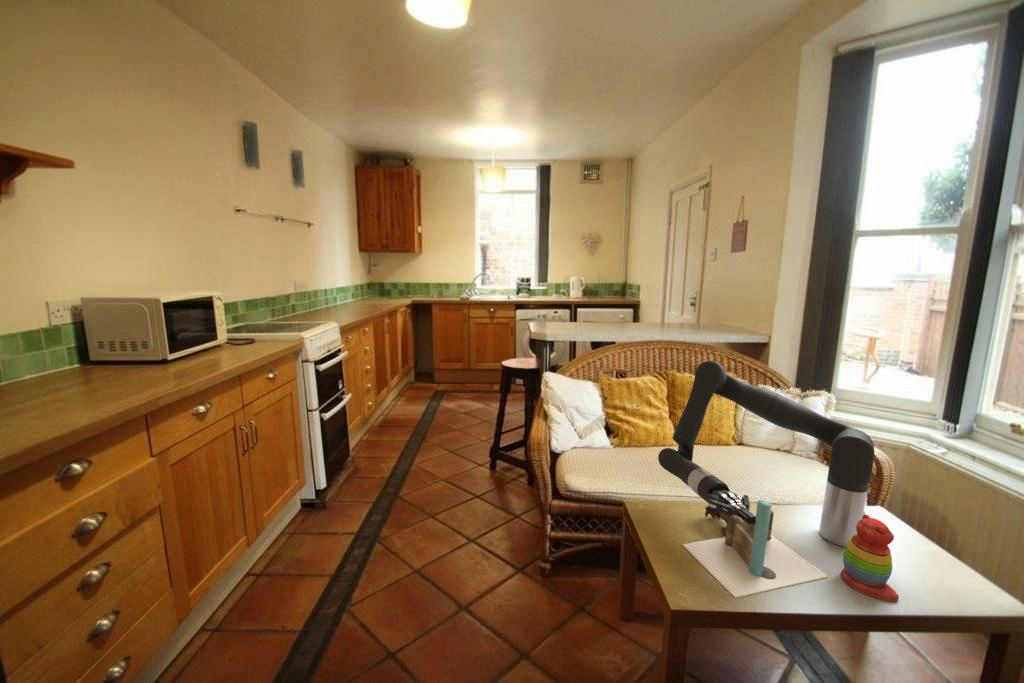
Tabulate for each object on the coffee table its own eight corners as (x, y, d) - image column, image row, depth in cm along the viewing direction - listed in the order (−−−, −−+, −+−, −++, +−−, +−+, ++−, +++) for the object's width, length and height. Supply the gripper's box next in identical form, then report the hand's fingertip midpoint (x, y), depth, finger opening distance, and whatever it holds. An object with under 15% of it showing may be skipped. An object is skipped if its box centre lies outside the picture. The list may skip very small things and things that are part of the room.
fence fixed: (764, 533, 125) (767, 508, 124) (772, 539, 122) (776, 513, 121) (722, 541, 121) (725, 514, 120) (730, 547, 118) (733, 520, 117)
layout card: (764, 530, 127) (764, 529, 127) (828, 577, 108) (828, 576, 108) (682, 545, 120) (682, 544, 119) (735, 598, 100) (735, 596, 100)
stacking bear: (902, 603, 100) (916, 536, 97) (854, 596, 102) (866, 530, 99) (873, 572, 110) (885, 510, 107) (830, 566, 112) (840, 505, 109)
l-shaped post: (729, 546, 118) (736, 482, 115) (739, 546, 118) (747, 482, 115) (753, 576, 107) (762, 506, 103) (764, 576, 107) (774, 506, 103)
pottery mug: (713, 538, 124) (705, 508, 127) (707, 533, 133) (699, 506, 135) (756, 533, 122) (747, 503, 124) (747, 528, 130) (738, 501, 133)
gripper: (689, 476, 121) (732, 510, 104) (727, 472, 124) (776, 504, 107) (686, 500, 122) (729, 537, 106) (725, 495, 125) (772, 530, 109)
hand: (753, 520), depth 107 cm, fingers closed
